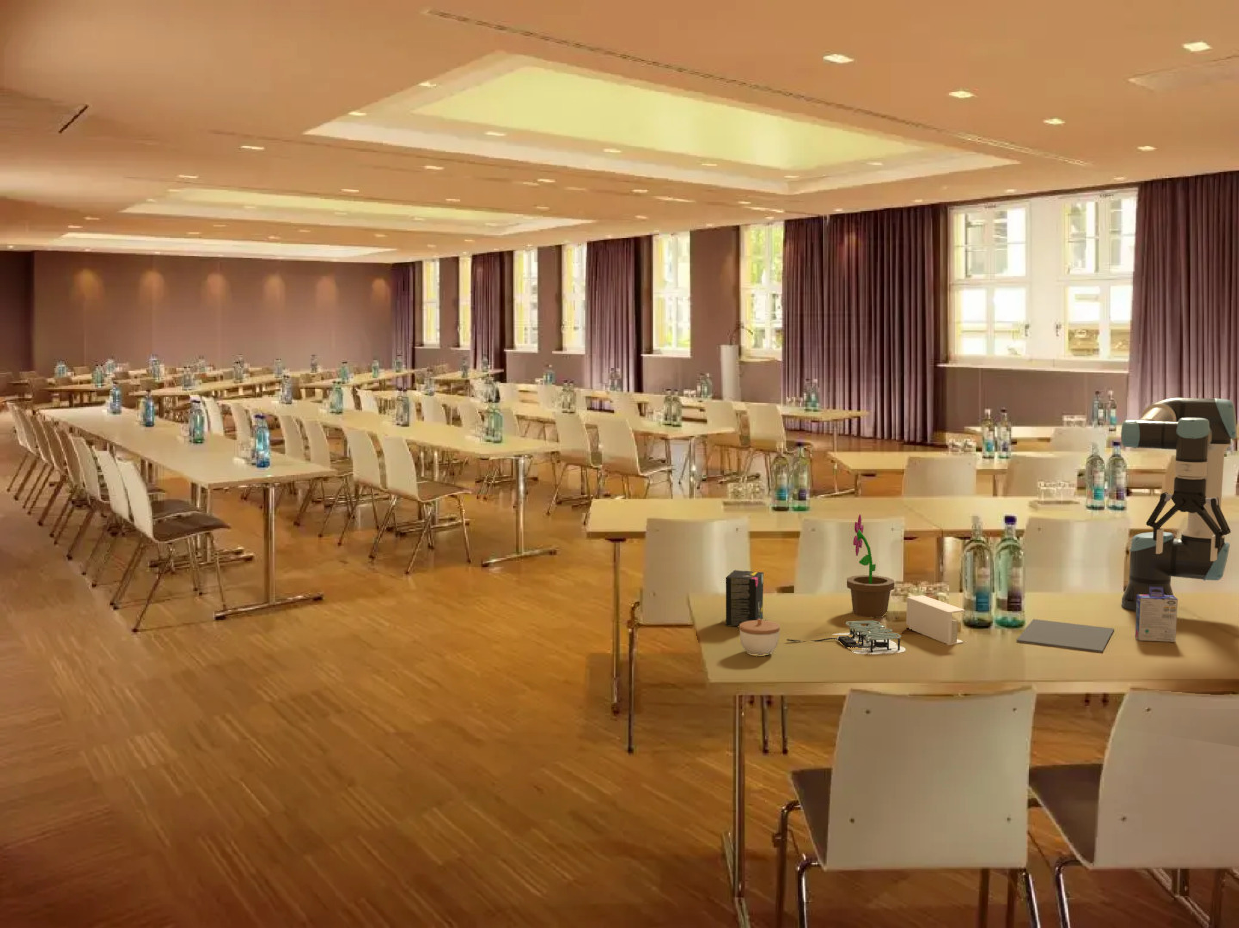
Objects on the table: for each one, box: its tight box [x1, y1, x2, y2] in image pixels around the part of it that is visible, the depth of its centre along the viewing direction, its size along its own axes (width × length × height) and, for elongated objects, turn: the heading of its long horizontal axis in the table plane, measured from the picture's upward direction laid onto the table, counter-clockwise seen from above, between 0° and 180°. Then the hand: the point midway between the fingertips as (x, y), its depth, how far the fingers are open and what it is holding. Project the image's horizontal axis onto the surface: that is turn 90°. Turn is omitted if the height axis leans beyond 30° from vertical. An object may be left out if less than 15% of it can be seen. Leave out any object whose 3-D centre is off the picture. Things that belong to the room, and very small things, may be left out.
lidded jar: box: [738, 619, 781, 655], centre depth 306 cm, size 11×11×9 cm
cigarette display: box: [905, 595, 966, 646], centre depth 323 cm, size 20×6×9 cm, turn 22°
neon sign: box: [786, 620, 907, 656], centre depth 315 cm, size 21×4×29 cm
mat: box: [1016, 618, 1115, 654], centre depth 321 cm, size 25×22×1 cm
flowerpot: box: [846, 514, 895, 619], centre depth 346 cm, size 14×14×30 cm
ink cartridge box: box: [1134, 587, 1179, 643], centre depth 317 cm, size 10×6×14 cm, turn 78°
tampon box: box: [725, 569, 764, 627], centre depth 337 cm, size 11×9×15 cm
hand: (1185, 556), depth 302 cm, fingers open, 13 cm apart
